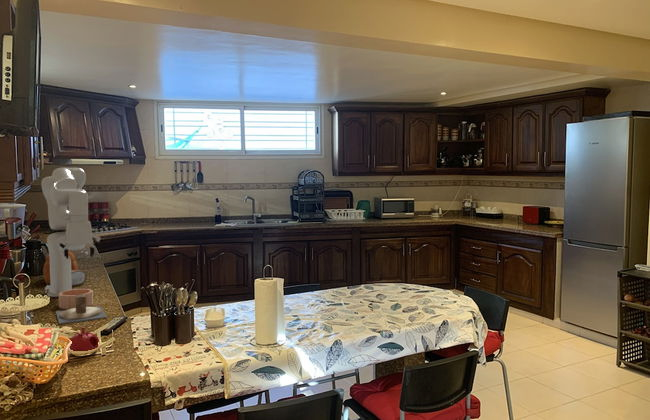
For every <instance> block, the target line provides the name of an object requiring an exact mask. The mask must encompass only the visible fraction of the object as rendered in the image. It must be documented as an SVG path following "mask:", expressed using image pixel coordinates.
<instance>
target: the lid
mask: <svg viewBox="0 0 650 420" xmlns="http://www.w3.org/2000/svg"><path fill="white" fill-rule="evenodd" d="M75 304H76V308H72V309H65V311H63V310H62V311H63V312H61V313H60V317H61V318H63V319H84V318H89V317H93V316H96V315H99V314H100V313H101V309H100V308H97V307H95V306H88V307H86V296H85V294H81V295H75Z"/></svg>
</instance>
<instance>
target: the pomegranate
mask: <svg viewBox="0 0 650 420" xmlns="http://www.w3.org/2000/svg"><path fill="white" fill-rule="evenodd" d="M80 330H81V332H76V331H74V332H72V334H74V335H73V336H71V337H70V338H69V339H70V340H71V341H72V344H71V346H70V349H71V350H73V351H88V350H92V349H95V348H97V347H98V342H99V343H100V338H99V337H98V336H97V335H96V334H95V333H93V332H96V331H95V330H92V329H91V330H89V331H85V326H82V327H81V329H80ZM98 348H99V347H98Z"/></svg>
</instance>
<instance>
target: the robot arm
mask: <svg viewBox="0 0 650 420" xmlns="http://www.w3.org/2000/svg"><path fill="white" fill-rule="evenodd" d="M86 181H87V174H86V172H85V170H84V169H83V168H80V167H58V168H55V169H53V170H52V174H51V175H50V176H46V177H44V178H42V180H41V190H42V194H43V196H44V198H45V201H46V203H47V215H48V225H49V227H50V229H51V230H55V231H57V230H59V231H60V230H62V231H61V232H59V231H58V232H52V233H51V234H49V235H47V238H46V244H47V250H48V254H49V257H50V284H48V285H46V286H44V290H46V291H48V292H47V293H46V295H47V297H51V298H52V297H53V298H57V297H58V298H59V293H60V292H63V291H66V290H72V289H73V288H72V287H73V286H72V277H71V259H70V257H69V256H68V251H79V250H83V249H84V248H85V247H86V246H87V245H89V246H90V247H89V256H90V257H91V258H93V257H94V256H95V247H96V246H97V245H98V244H99V242H100V241H101V237H100V236H99V235H95V234H93V230H92V223H91V221H89V194H88V192H87V191H86V190H85V189H82V188H83V187H84V185H85V183H86ZM63 230H66V231H63ZM93 239H95V241H94V242H93Z"/></svg>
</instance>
